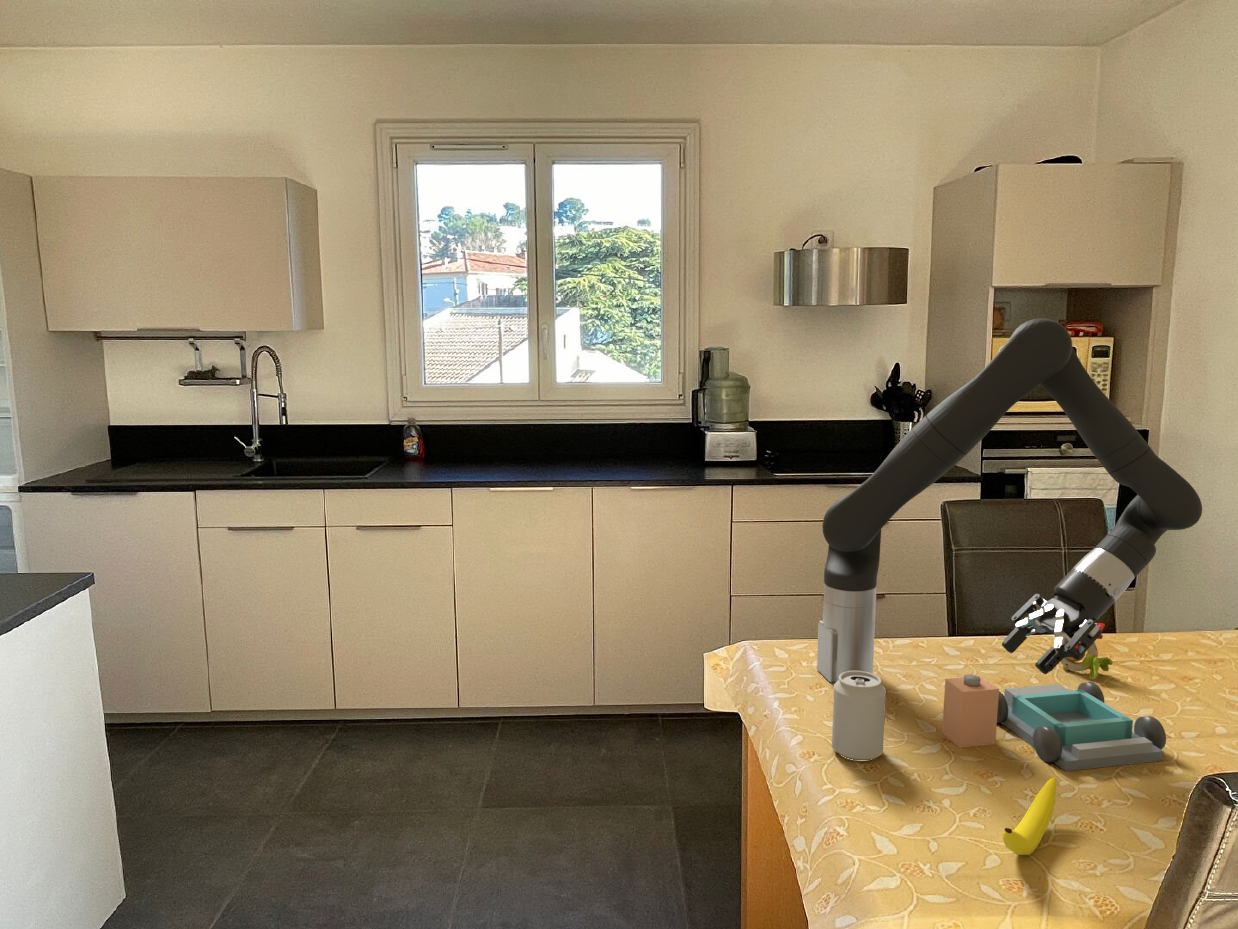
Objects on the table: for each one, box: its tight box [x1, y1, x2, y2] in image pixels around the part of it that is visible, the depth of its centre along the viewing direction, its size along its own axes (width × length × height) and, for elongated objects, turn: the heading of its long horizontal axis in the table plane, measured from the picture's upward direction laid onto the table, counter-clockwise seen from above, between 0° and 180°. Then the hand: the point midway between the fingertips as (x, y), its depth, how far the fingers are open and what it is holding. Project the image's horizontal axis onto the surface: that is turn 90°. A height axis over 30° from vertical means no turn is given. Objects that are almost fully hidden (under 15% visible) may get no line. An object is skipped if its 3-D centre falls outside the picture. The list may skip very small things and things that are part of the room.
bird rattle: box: [1059, 622, 1113, 681], centre depth 163 cm, size 6×11×9 cm
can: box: [831, 671, 887, 760], centre depth 134 cm, size 8×8×12 cm
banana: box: [1001, 776, 1057, 856], centre depth 112 cm, size 3×19×6 cm, turn 139°
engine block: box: [941, 674, 1000, 748], centre depth 139 cm, size 6×5×10 cm
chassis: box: [997, 681, 1167, 772], centre depth 140 cm, size 18×20×5 cm
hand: (1022, 659), depth 139 cm, fingers open, 8 cm apart
